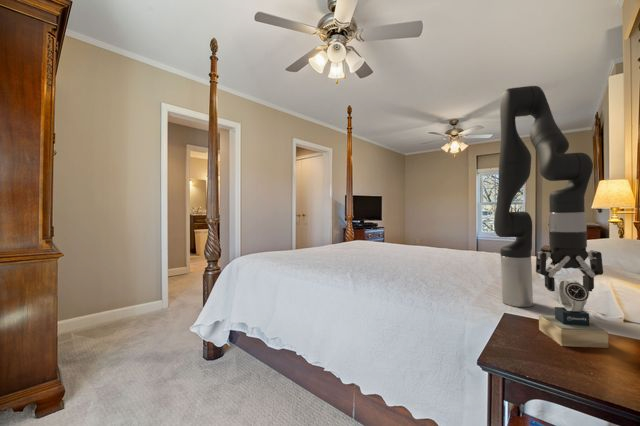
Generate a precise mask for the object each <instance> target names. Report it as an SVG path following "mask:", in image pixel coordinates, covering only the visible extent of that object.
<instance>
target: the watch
mask: <svg viewBox="0 0 640 426" xmlns="http://www.w3.org/2000/svg"><path fill="white" fill-rule="evenodd" d="M557 293H558V297H559V301H560V303H561V305H562V306H563V307H562V306H560V307H559V306H555V307H554V316H555V319H557V320H558V321H559V322H561V323H562V324H566V325H583V326H589V322H590V313H589V312H587V311H585V310H584V308H585V305H587V303H588V302H587V301H588V299H589V297H590V293H591V292H590V291H587V289H586V288H585V287H584V286H583V284H581V283H580V282H579V281H577V280H576V279H561V280H560V281H559V283H558V292H557Z"/></svg>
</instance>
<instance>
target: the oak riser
mask: <svg viewBox="0 0 640 426" xmlns="http://www.w3.org/2000/svg"><path fill="white" fill-rule="evenodd" d="M538 329H539V331H540V332H542V333H543V334H544V335H546V336H547V337H549V338H550V339H551V340H552V341H555V342H556V343H557V344H558V345H560V346H561V347H577V348H602V349H603V348H604V349H605V348H606V349H609V332H608V330H605V329H604V328H603V327H600V326H598V325H596V323H595V324H594V323H593V322H591V321H589V326H583V325H566V324H562V323H561V322H559V321H558V320H557V319H555V314H554V315H550V314H543V315H542V314H541V315H538Z"/></svg>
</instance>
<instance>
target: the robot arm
mask: <svg viewBox="0 0 640 426" xmlns="http://www.w3.org/2000/svg"><path fill="white" fill-rule="evenodd" d="M499 108H500V109H499V113H500V114H499V115H500V146H499V147H500V150H499V157H498V159H499V160H498V183H497V185H498V189H497V199H496V204H495V205H496V206H495V213H494V220H493V221H494V222H493V229H494V233H495V234H496V236H498V237H499V238H515V240H514V241H513V242H512V243H510V244H507V245H504V246H502V247H500V251H499V253H500V271H501V272H500V273H501V296H502V299H501V300H502V301H501V302H502V303H503V304H505V305H509V306H513V307H518V308H519V307H520V308H529V307H533V306H534V297H533V296H534V293H533V291H534V290H533V287H534V286H533V267H532V266H533V265H532V249H533V219H532V216H531V214H530V213H528V211H510V210H511V206H512V204H513V201H514V199H515V197H516V195H517V194H518V193H519V192H520V191H521V189H522V188H523V187H524V185H525V184H526V183H527V181H528V180H529V178H530V176H531V169H532V167H531V166H532V154H531V151H530V150H529V147H527V145H526V144H525V142H524V141H523V140H522V138H521V136H520V134H519V133H518V130H517V123H516V118H517V117H518V118H519V117H527V116H532V117H533V118H534V121H533V124H532V126H531V128H530V129H529V139H530V142H531V144H532V146H533V148H534V150H535V151H536V153H537V156H538V163H539V173H540V175H541V176H542V178H544V179H545V180H547V181H548V182H559V181H567V184H566V186H565V187H564V188H561V189H557V190H555V191H551V192H550V194H549V197H548V201H549V218H548V238H549V239H548V240H549V242H548V243H549V251H547V252H546V251H545V252H543V251H540V250H539V251H536V256H535V257H536V259H535V272H536V274H539V275H542V276H543V277H544V286H545V288H546V289H547V290H548V291H550V292H555V290H556V285H555V280H556V279H555V277H554V276H555V275H556V273H558V272H560V271H561V270H562V269H578V270H579V271H580V272H581V273H582V285H583V286H584V287H585V288H586V289H587V291H589V292H593V290H594V288H595V277H596V276H599V275H600V276H602V275H603V274H604V267H603V257H602V252H601V251H597V250H592V249H591V250H589V251H587V247H588V234H587V233H588V231H587V218H586V213H585V211H586V210H585V209H586V208H585V196H586V192H587V188H588V185H589V183H590V179H591V176H592V174H593V169H594V163H593V160H592V158H591V157H590V156H589V155H588V154H587V153H585V152H569V153H567V151H568V150H569V148H570V143H569V140H568V138H567V137H566V136H565V135H564V133H563V132H562V130H561V129H560V128H559V127H558V124H557V123H556V121H555V119H554V116H553V113H552V110H551V107H550V104H549V102H548V99H547V97H546V94H545V92H544V90H543V89H542V88H541V87H540V86H539V85H527V86H518V87H512V88H506V89H505V90H504V91H503V92H502V95H501V97H500V106H499ZM587 258H588V259H589V265H588V264H587V262H585V261H586V260H587ZM549 259H550V260H551V261H550V262H548V264H547V261H548V260H549Z"/></svg>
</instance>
